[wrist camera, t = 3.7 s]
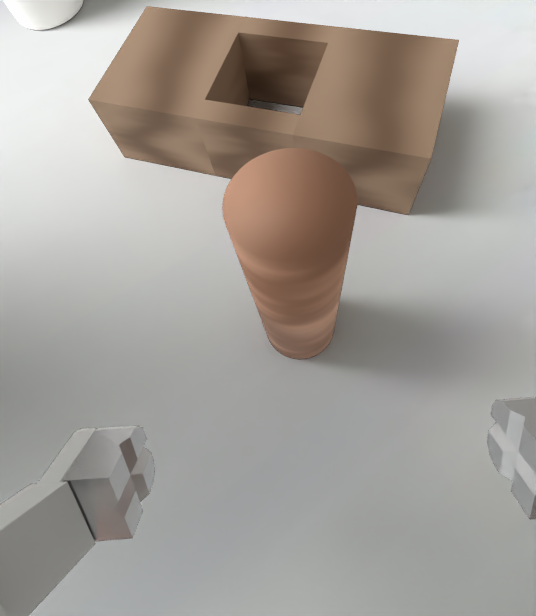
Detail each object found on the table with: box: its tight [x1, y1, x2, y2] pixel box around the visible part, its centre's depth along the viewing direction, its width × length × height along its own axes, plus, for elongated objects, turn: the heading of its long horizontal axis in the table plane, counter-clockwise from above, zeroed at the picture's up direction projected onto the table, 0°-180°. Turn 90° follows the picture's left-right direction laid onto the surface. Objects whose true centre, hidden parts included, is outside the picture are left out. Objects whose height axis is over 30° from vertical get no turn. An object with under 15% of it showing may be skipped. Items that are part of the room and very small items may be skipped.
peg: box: [223, 148, 357, 359], centre depth 17 cm, size 4×4×12 cm
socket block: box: [88, 6, 459, 215], centre depth 25 cm, size 21×9×5 cm, turn 72°
